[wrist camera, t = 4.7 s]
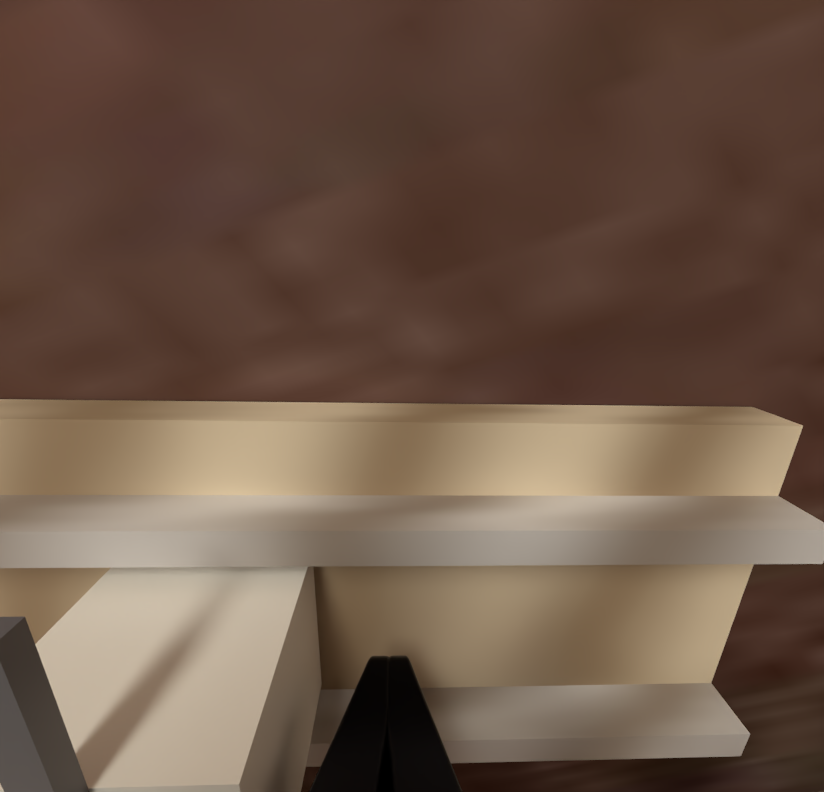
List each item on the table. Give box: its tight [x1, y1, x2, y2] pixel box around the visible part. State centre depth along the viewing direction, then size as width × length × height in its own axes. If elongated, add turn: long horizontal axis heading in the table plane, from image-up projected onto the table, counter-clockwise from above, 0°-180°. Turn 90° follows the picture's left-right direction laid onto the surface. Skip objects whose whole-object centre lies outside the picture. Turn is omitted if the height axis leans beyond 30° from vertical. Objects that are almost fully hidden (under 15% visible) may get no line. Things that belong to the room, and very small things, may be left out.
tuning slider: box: [0, 567, 322, 792], centre depth 7 cm, size 4×9×4 cm, turn 179°
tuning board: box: [0, 399, 824, 767], centre depth 9 cm, size 18×10×2 cm, turn 89°
